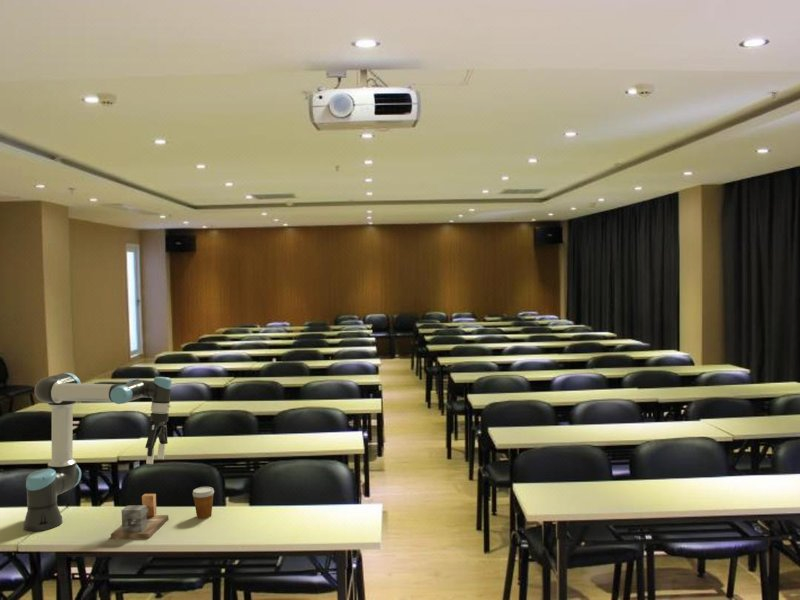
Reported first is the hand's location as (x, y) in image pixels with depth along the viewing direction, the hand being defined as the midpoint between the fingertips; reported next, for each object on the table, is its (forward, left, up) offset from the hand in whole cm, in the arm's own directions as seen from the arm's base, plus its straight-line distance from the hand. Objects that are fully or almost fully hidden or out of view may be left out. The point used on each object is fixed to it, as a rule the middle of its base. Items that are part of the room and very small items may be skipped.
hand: (155, 461), depth 307 cm
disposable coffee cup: (+17, +11, -27) cm, 34 cm away
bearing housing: (-1, -10, -27) cm, 29 cm away
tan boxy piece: (-3, -4, -24) cm, 25 cm away
